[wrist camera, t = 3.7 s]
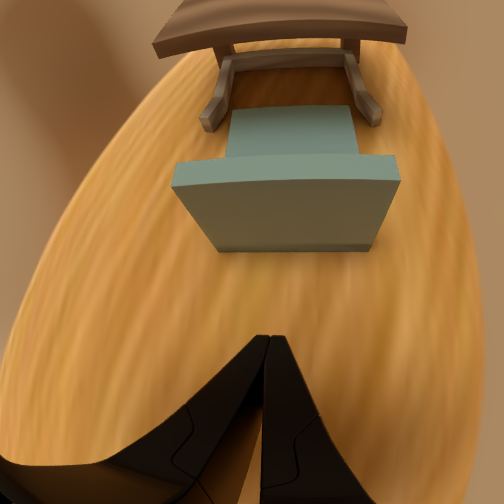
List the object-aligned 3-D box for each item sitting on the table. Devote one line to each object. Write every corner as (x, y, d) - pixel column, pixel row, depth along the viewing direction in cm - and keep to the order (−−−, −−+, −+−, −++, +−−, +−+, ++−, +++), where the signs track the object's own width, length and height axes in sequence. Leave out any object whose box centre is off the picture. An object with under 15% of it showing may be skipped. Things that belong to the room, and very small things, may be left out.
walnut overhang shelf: (384, 141, 23) (407, 26, 12) (201, 147, 27) (151, 43, 16) (355, 53, 29) (356, -28, 18) (222, 60, 32) (198, -17, 21)
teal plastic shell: (368, 252, 20) (400, 180, 12) (219, 252, 22) (170, 186, 14) (348, 116, 25) (352, 38, 17) (235, 120, 27) (212, 46, 19)
